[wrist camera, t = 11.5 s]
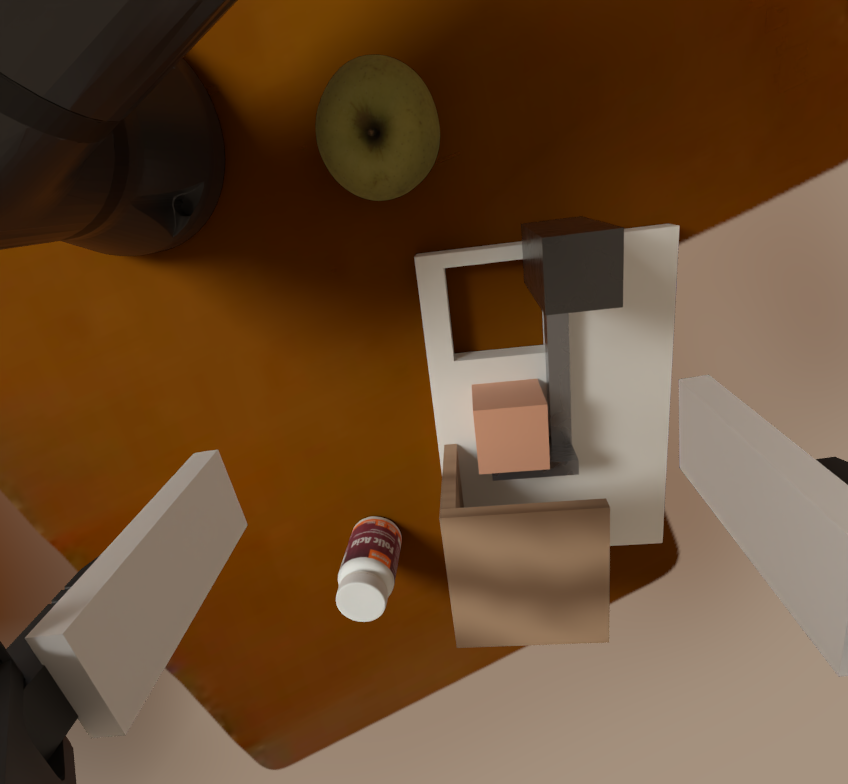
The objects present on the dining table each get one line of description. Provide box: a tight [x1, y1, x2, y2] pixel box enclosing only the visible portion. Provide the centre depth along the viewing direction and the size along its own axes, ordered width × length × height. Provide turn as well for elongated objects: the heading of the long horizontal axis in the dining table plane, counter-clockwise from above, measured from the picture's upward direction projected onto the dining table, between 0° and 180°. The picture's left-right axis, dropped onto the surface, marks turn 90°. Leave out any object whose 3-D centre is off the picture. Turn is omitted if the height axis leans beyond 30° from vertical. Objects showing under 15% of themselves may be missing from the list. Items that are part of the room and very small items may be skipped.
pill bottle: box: [336, 516, 402, 622], centre depth 44 cm, size 5×5×8 cm
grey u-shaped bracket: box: [492, 216, 624, 481], centre depth 34 cm, size 18×8×10 cm, turn 7°
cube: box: [472, 379, 550, 474], centre depth 38 cm, size 5×5×5 cm
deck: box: [414, 224, 680, 546], centre depth 41 cm, size 26×18×2 cm
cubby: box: [439, 444, 610, 648], centre depth 39 cm, size 11×10×10 cm
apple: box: [316, 55, 440, 201], centre depth 32 cm, size 8×8×7 cm
